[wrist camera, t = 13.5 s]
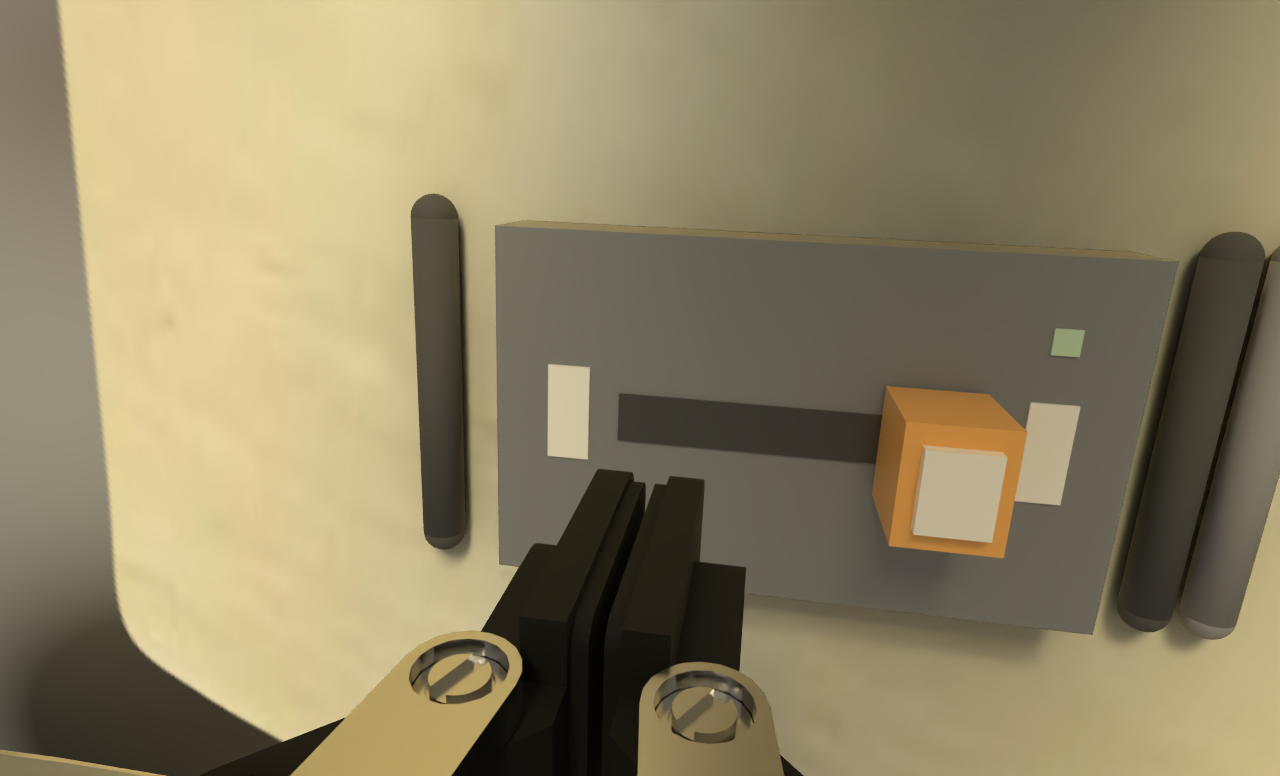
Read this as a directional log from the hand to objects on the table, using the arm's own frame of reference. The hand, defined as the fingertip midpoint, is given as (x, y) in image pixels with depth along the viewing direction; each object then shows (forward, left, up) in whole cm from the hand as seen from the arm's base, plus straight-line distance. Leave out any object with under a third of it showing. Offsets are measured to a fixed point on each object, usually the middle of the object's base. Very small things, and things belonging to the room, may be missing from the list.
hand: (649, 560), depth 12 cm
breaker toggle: (+2, +7, -13) cm, 15 cm away
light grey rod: (+2, +17, -16) cm, 24 cm away
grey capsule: (+2, +15, -16) cm, 22 cm away
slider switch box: (+2, +3, -16) cm, 16 cm away
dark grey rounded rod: (+2, -10, -16) cm, 19 cm away
